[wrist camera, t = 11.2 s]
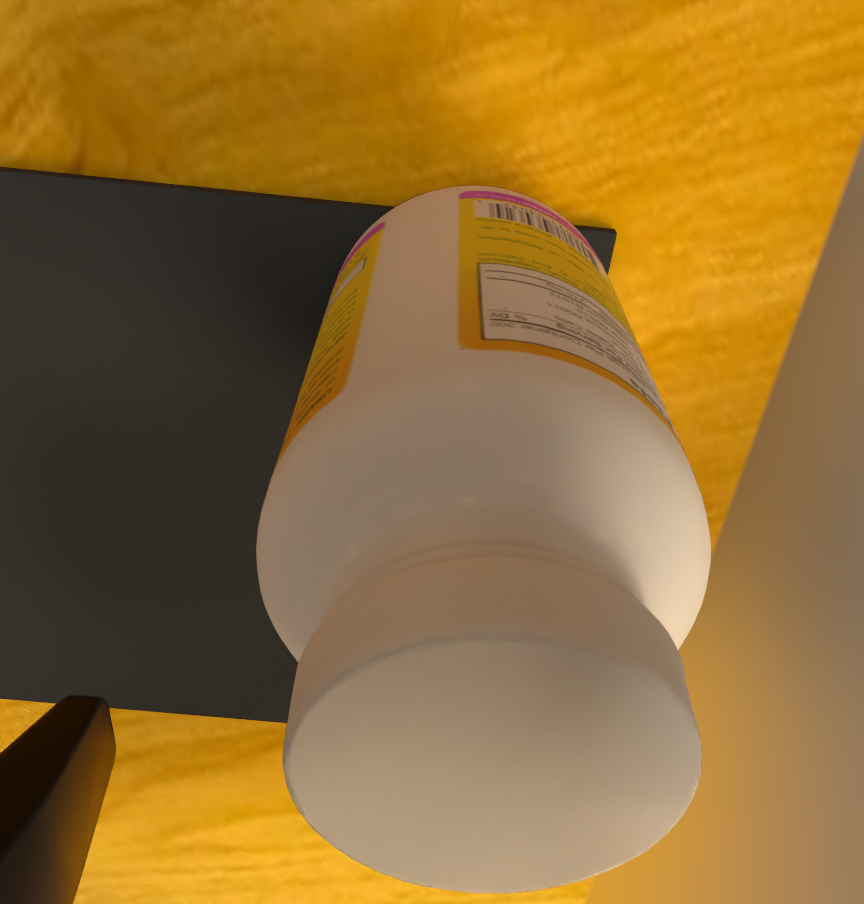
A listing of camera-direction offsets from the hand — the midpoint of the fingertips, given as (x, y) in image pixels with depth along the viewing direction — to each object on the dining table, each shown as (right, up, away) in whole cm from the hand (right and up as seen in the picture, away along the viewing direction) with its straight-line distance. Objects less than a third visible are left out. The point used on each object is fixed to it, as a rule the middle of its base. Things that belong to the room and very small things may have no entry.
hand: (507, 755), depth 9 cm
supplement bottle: (0, +7, +11) cm, 13 cm away
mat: (-6, +2, +14) cm, 16 cm away
